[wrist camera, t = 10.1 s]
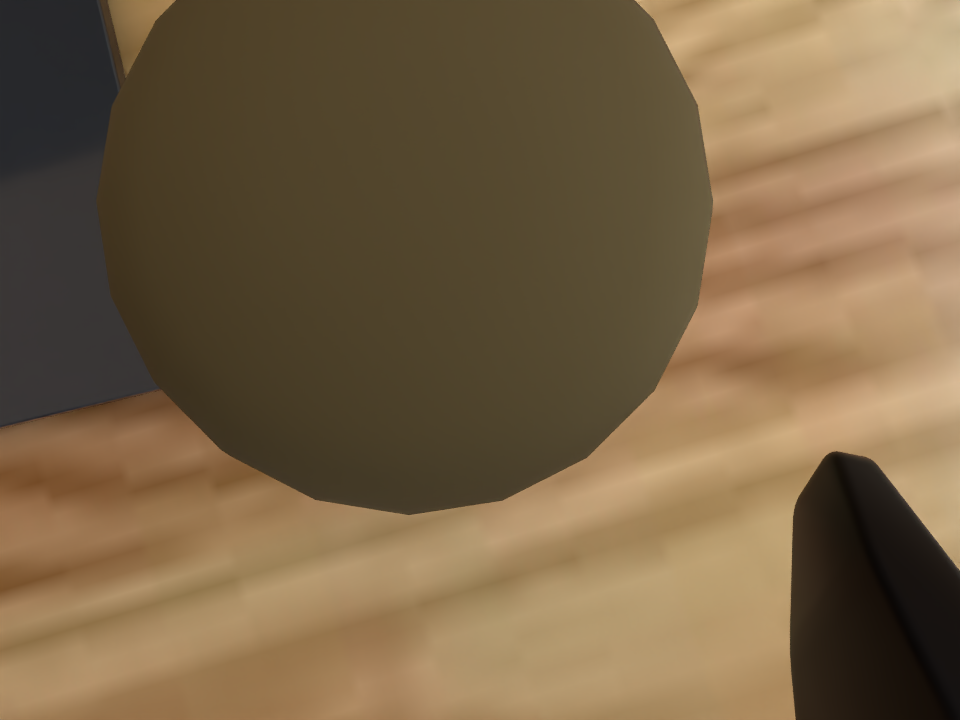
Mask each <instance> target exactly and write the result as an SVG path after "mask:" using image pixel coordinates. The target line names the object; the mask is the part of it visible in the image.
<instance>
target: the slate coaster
mask: <svg viewBox="0 0 960 720" xmlns="http://www.w3.org/2000/svg"><path fill="white" fill-rule="evenodd" d="M125 79H126V78H125V74H124V69H123V65H122V61H121V57H120V52H119V48H118V44H117V40H116V36H115V31H114V27H113V23H112V19H111V14H110V10H109V6H108V2H107V0H0V429H3V428H7V427H11V426H16V425H20V424H24V423H28V422H32V421H36V420H40V419H45V418H49V417H53V416H57V415H61V414H65V413H69V412H74V411H78V410H82V409H86V408H90V407H94V406H98V405H103V404H107V403H111V402H115V401H119V400H123V399H127V398H132V397H136V396H140V395H144V394H148V393H152V392H156V391H161V389H160V388H159V387H158V385H157V384H156V383H155V382H154V381H153V379H152V377H151V375H150V373H149V371H148V369H147V367H146V365H145V363H144V361H143V359H142V357H141V355H140V353H139V351H138V349H137V347H136V345H135V343H134V341H133V339H132V337H131V335H130V333H129V331H128V329H127V327H126V325H125V323H124V321H123V319H122V317H121V315H120V313H119V311H118V309H117V307H116V305H115V303H114V301H113V299H112V297H111V295H110V288H109V282H108V275H107V269H106V262H105V255H104V249H103V242H102V236H101V229H100V222H99V216H98V209H97V203H96V199H97V193H98V187H99V181H100V175H101V169H102V163H103V157H104V150H105V144H106V138H107V132H108V126H109V120H110V114H111V108H112V105H113V103H114V101H115V99H116V97H117V95H118V93H119V91H120V89H121V87H122V85H123V83H124V81H125Z"/></svg>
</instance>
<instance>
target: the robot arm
mask: <svg viewBox="0 0 960 720" xmlns="http://www.w3.org/2000/svg"><path fill="white" fill-rule="evenodd" d="M790 658H791V674H792V685H793V695H794V706H795V717H796V720H960V571H959V569H958V568H957V567H956V565H955V564H954V563H953V562H952V560H951V559H950V558H949V556H948V555H947V554H946V553H945V551H944V550H943V549H942V547H941V546H940V545H939V544H938V542H937V541H936V540H935V538H934V537H933V536H932V535H931V533H930V532H929V531H928V529H927V528H926V527H925V526H924V524H923V523H922V522H921V520H920V519H919V518H918V517H917V515H916V514H915V513H914V511H913V510H912V509H911V508H910V506H909V505H908V504H907V502H906V501H905V500H904V499H903V497H902V496H901V495H900V493H899V492H898V491H897V489H896V488H895V487H894V486H893V484H892V483H891V482H890V480H889V479H888V478H887V477H886V475H885V474H884V473H883V471H882V470H881V469H880V468H879V466H878V465H877V464H876V463H875V462H874V461H872V460H871V459H869V458H867V457H863V456H858V455H853V454H848V453H843V452H838V451H836V452H831V453H829V454H828V455H826V456H825V458H824V459H823V460H822V461H821V463H820V465H819V466H818V468H817V469H816V471H815V472H814V474H813V475H812V477H811V478H810V480H809V482H808V483H807V485H806V486H805V488H804V489H803V491H802V492H801V494H800V496H799V497H798V500H797V502H796V505H795V509H794V515H793V540H792V577H791V614H790Z"/></svg>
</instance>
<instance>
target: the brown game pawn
mask: <svg viewBox="0 0 960 720" xmlns="http://www.w3.org/2000/svg"><path fill="white" fill-rule="evenodd" d="M96 203H97V209H98V216H99V222H100V229H101V236H102V242H103V249H104V255H105V262H106V269H107V275H108V282H109V288H110V295H111V297H112V299H113V301H114V303H115V305H116V307H117V309H118V311H119V313H120V315H121V317H122V319H123V321H124V323H125V325H126V327H127V329H128V331H129V333H130V335H131V337H132V339H133V341H134V343H135V345H136V347H137V349H138V351H139V353H140V355H141V357H142V359H143V361H144V363H145V365H146V367H147V369H148V371H149V373H150V375H151V377H152V379H153V381H154V382H155V383H156V384H157V385H158V387H159V388H160V389H161V390H162V391H163V392H164V393H165V394H166V395H167V396H168V397H169V398H170V399H171V400H172V401H173V402H174V403H175V404H176V405H177V406H178V407H179V408H180V409H181V410H182V411H183V412H184V413H185V414H186V415H187V416H188V417H189V418H190V419H191V420H192V421H193V422H194V423H195V424H196V425H197V426H198V427H199V428H200V429H201V430H202V431H203V432H204V433H205V434H206V435H207V436H208V437H209V438H210V439H211V440H212V441H213V442H214V443H215V444H216V445H217V446H218V447H219V448H220V449H221V450H222V451H224V452H225V453H227V454H228V455H230V456H232V457H233V458H235V459H237V460H239V461H241V462H243V463H245V464H247V465H249V466H251V467H253V468H255V469H257V470H259V471H261V472H263V473H265V474H266V475H268V476H270V477H272V478H274V479H276V480H278V481H280V482H282V483H284V484H286V485H288V486H290V487H292V488H294V489H296V490H297V491H299V492H301V493H303V494H305V495H307V496H309V497H311V498H313V499H315V500H320V501H326V502H332V503H338V504H344V505H351V506H357V507H363V508H369V509H375V510H381V511H388V512H394V513H400V514H406V515H412V514H418V513H425V512H431V511H437V510H444V509H450V508H457V507H463V506H470V505H476V504H483V503H489V502H495V501H502V500H504V499H506V498H508V497H510V496H512V495H514V494H516V493H518V492H520V491H522V490H524V489H526V488H528V487H530V486H532V485H534V484H536V483H538V482H540V481H542V480H544V479H546V478H548V477H550V476H552V475H554V474H556V473H558V472H559V471H561V470H563V469H565V468H567V467H569V466H571V465H573V464H575V463H577V462H579V461H581V460H583V459H585V458H587V457H588V456H589V455H590V454H591V453H592V452H593V451H594V450H595V449H596V448H597V447H598V446H599V445H600V444H601V443H602V442H603V441H604V440H605V439H606V438H607V437H608V436H609V435H610V434H611V433H612V432H613V431H614V430H615V429H616V428H617V427H618V426H619V425H620V424H621V423H622V422H623V421H624V420H625V419H626V418H627V417H628V416H629V415H630V414H631V413H632V412H633V411H634V410H635V409H636V408H637V407H638V406H639V405H640V404H641V403H642V402H643V401H644V400H645V399H646V398H647V397H648V396H649V395H650V394H651V393H652V392H653V391H654V390H655V388H656V386H657V384H658V382H659V380H660V378H661V376H662V374H663V372H664V370H665V369H666V367H667V365H668V363H669V361H670V359H671V357H672V355H673V353H674V351H675V349H676V347H677V345H678V343H679V341H680V339H681V337H682V335H683V333H684V331H685V329H686V327H687V325H688V323H689V321H690V320H691V318H692V316H693V314H694V312H695V310H696V308H697V305H698V299H699V293H700V286H701V280H702V274H703V267H704V261H705V255H706V248H707V242H708V236H709V229H710V223H711V217H712V206H713V198H712V192H711V186H710V180H709V173H708V167H707V161H706V155H705V149H704V142H703V136H702V130H701V124H700V117H699V111H698V105H697V103H696V101H695V99H694V97H693V95H692V93H691V91H690V89H689V87H688V85H687V83H686V82H685V80H684V78H683V76H682V74H681V72H680V70H679V68H678V66H677V64H676V62H675V60H674V58H673V56H672V54H671V52H670V50H669V49H668V47H667V45H666V43H665V41H664V39H663V37H662V35H661V33H660V31H659V29H658V27H657V25H656V23H655V21H654V19H653V18H652V17H651V16H650V15H649V14H648V13H647V12H646V11H645V10H644V9H643V8H642V7H641V6H640V5H639V4H638V3H637V2H636V1H635V0H176V1H175V2H174V3H173V4H172V5H171V6H170V7H169V8H168V9H167V10H166V11H165V12H164V13H163V14H162V15H161V16H160V17H159V18H158V19H157V20H156V21H155V23H154V25H153V27H152V29H151V31H150V33H149V35H148V37H147V39H146V40H145V42H144V44H143V46H142V48H141V50H140V52H139V54H138V56H137V58H136V60H135V62H134V64H133V66H132V68H131V70H130V72H129V74H128V76H127V77H126V79H125V81H124V83H123V85H122V87H121V89H120V91H119V93H118V95H117V97H116V99H115V101H114V103H113V105H112V108H111V114H110V120H109V126H108V132H107V138H106V144H105V150H104V157H103V163H102V169H101V175H100V181H99V187H98V193H97V199H96Z"/></svg>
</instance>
